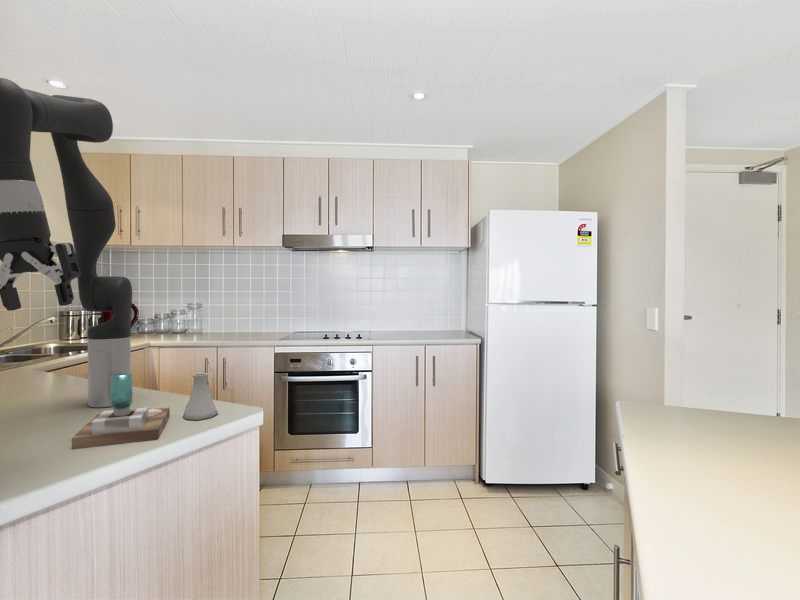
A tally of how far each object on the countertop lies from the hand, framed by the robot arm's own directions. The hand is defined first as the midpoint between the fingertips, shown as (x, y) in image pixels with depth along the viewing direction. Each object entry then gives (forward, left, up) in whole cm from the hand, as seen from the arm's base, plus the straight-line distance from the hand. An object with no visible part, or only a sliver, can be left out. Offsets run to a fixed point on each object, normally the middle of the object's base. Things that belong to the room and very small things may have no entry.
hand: (40, 307), depth 72 cm
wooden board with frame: (-13, +10, -26) cm, 31 cm away
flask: (-19, +24, -27) cm, 40 cm away
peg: (-9, +10, -24) cm, 28 cm away
